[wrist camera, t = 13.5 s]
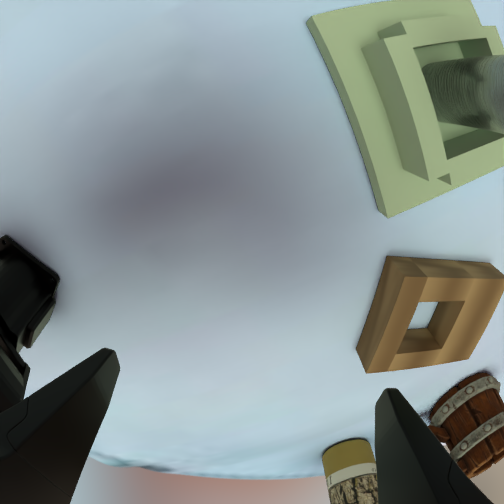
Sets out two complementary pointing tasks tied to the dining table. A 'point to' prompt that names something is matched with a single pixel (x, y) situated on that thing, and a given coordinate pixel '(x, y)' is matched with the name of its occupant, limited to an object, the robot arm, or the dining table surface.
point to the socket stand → (407, 94)
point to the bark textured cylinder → (351, 473)
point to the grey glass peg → (468, 91)
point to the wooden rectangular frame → (444, 318)
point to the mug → (471, 423)
